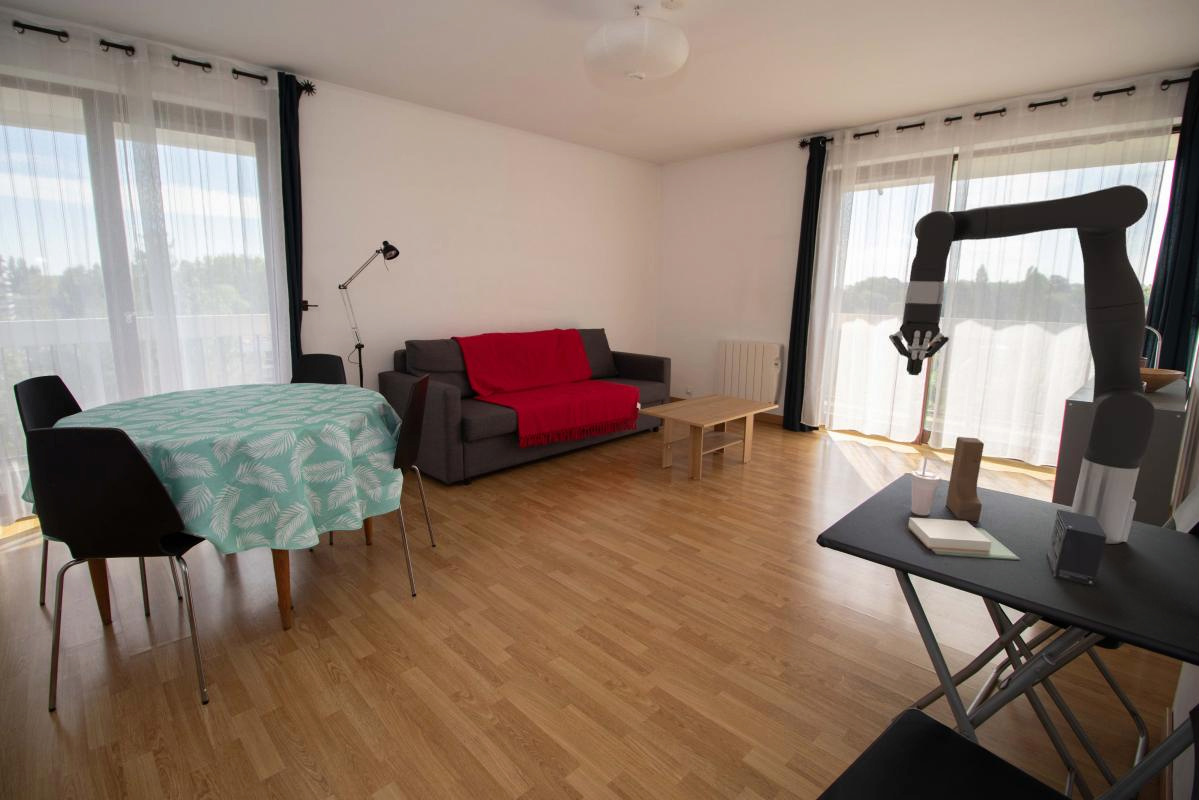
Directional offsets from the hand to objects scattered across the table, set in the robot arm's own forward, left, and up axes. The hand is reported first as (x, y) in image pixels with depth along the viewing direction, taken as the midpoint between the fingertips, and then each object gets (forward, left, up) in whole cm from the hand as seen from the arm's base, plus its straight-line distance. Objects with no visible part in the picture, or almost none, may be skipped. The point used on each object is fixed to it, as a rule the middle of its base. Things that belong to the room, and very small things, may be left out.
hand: (913, 374), depth 134 cm
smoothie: (-4, +5, -33) cm, 34 cm away
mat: (-6, +20, -33) cm, 39 cm away
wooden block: (-14, +4, -33) cm, 36 cm away
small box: (-21, +30, -33) cm, 50 cm away
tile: (+3, +20, -32) cm, 37 cm away
